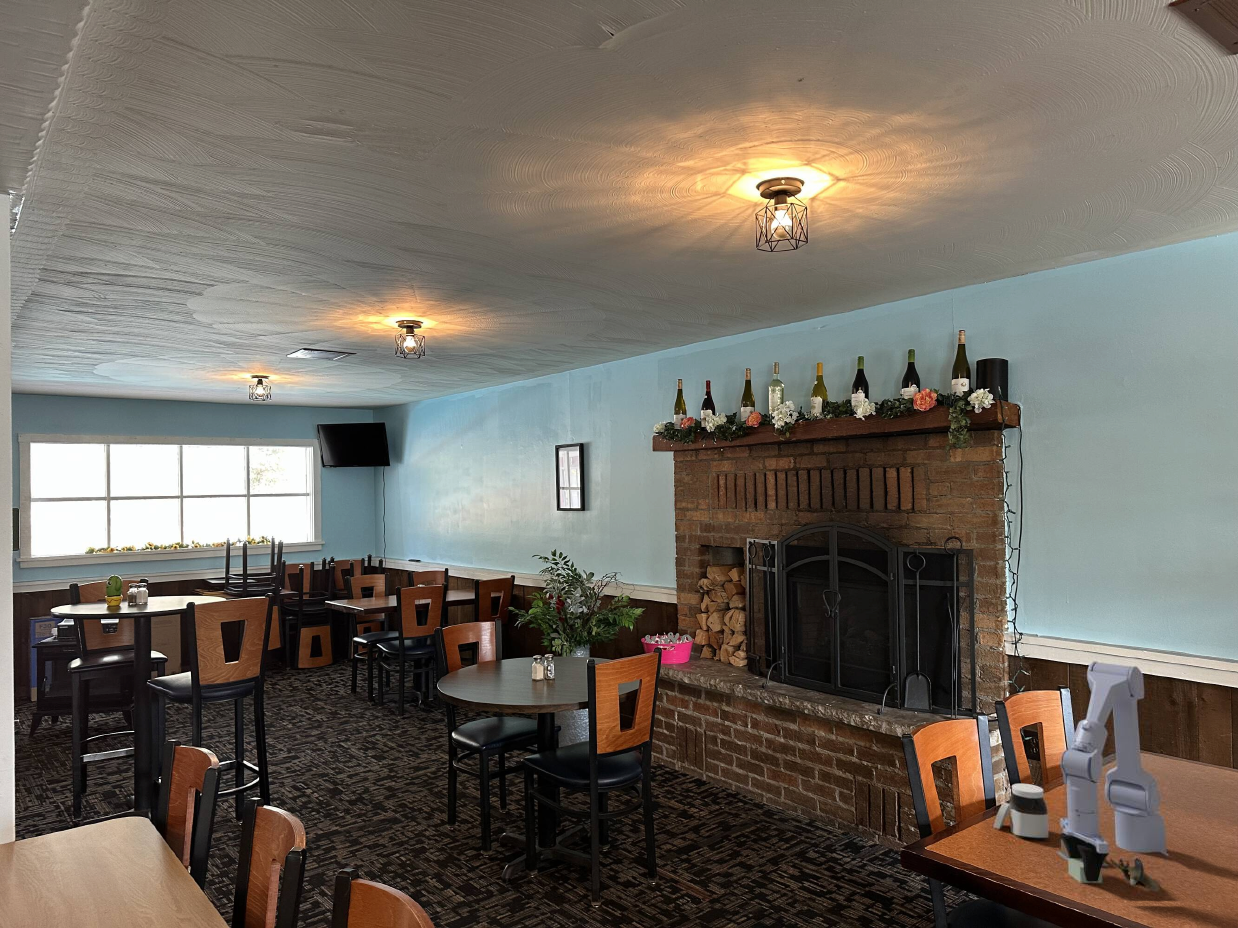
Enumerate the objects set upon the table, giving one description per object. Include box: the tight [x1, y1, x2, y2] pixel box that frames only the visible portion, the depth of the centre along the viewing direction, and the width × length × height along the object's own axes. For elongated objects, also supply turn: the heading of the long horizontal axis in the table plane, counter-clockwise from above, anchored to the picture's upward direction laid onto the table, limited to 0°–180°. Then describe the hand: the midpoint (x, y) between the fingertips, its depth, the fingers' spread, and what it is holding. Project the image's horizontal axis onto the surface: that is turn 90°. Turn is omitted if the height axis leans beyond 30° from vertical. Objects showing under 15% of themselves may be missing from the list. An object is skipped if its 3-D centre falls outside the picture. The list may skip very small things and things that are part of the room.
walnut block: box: [1060, 838, 1069, 858], centre depth 183 cm, size 6×6×3 cm
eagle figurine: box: [1109, 856, 1163, 893], centre depth 170 cm, size 8×7×9 cm
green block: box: [1067, 858, 1103, 884], centre depth 173 cm, size 4×4×4 cm
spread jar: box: [993, 783, 1049, 842], centre depth 199 cm, size 12×11×12 cm
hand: (1085, 875), depth 172 cm, fingers closed on green block, 4 cm apart
